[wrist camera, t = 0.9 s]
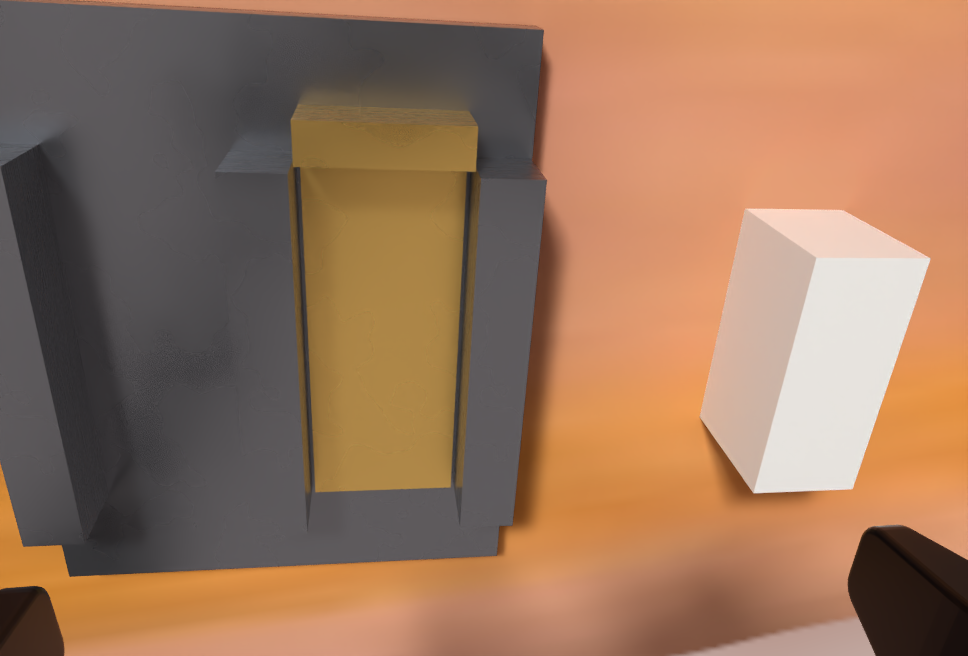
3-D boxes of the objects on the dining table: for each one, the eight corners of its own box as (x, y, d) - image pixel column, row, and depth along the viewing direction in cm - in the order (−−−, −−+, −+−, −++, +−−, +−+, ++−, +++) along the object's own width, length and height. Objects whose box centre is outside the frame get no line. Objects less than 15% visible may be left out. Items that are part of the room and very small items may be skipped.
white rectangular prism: (784, 412, 25) (852, 489, 21) (698, 414, 25) (753, 493, 21) (840, 208, 22) (930, 258, 18) (742, 207, 21) (816, 257, 18)
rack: (492, 534, 25) (506, 602, 23) (81, 552, 24) (43, 629, 21) (535, 25, 18) (563, 39, 16) (-48, -7, 16) (-129, 2, 14)
